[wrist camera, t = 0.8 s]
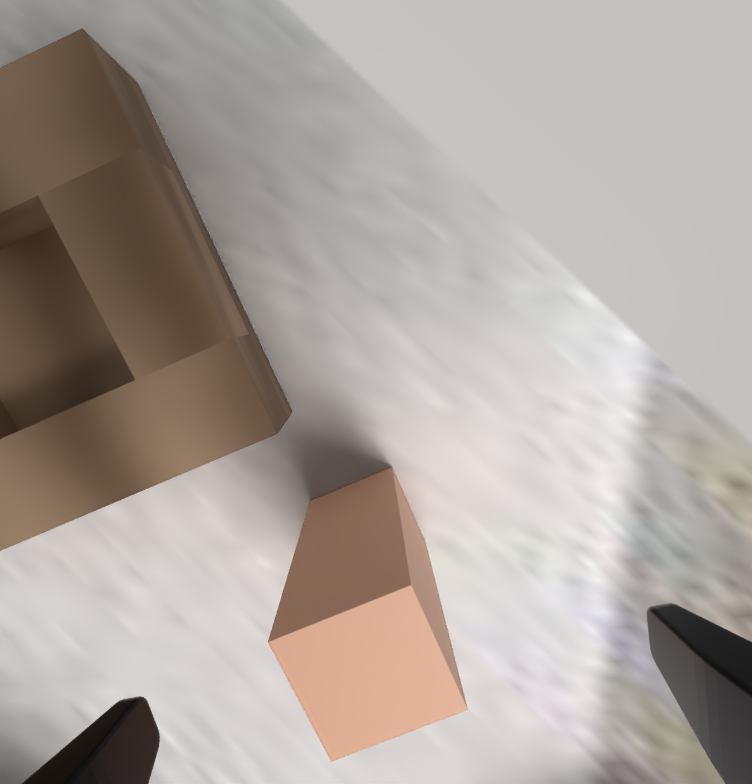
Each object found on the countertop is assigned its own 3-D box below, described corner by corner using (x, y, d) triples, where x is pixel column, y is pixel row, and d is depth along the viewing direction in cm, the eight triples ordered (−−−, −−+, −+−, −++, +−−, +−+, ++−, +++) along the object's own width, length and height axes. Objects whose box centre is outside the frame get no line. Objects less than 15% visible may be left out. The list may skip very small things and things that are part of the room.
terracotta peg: (345, 575, 22) (331, 761, 13) (309, 501, 21) (267, 641, 12) (425, 543, 21) (467, 709, 12) (392, 466, 21) (411, 585, 12)
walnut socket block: (7, 533, 21) (-65, 578, 17) (-179, 232, 18) (-303, 214, 15) (292, 412, 20) (277, 433, 17) (137, 82, 18) (82, 28, 14)
